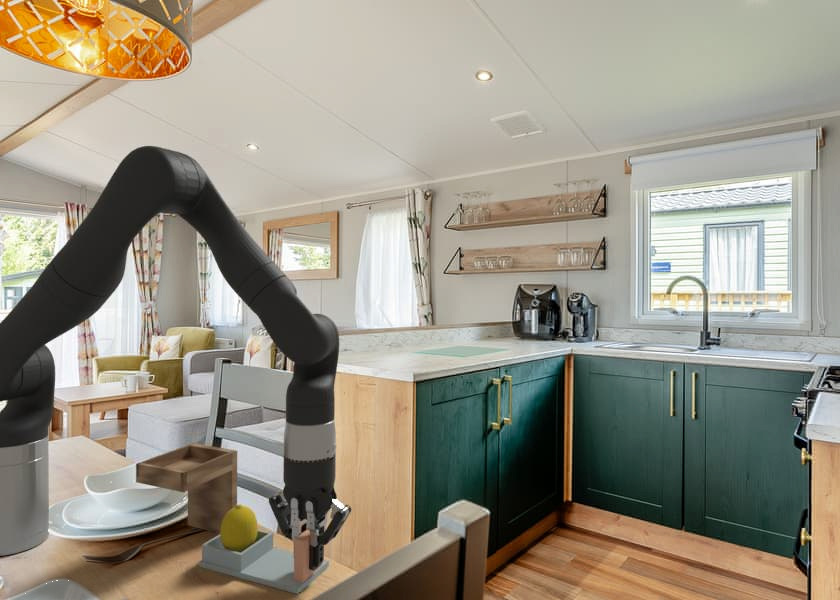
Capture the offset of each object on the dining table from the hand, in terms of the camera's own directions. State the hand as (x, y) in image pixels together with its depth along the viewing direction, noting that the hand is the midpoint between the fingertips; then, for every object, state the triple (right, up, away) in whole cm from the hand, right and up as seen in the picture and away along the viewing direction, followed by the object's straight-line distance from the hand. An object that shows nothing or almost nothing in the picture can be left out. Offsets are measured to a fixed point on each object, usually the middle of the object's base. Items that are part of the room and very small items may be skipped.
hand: (308, 565), depth 77 cm
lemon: (-12, -1, +5) cm, 13 cm away
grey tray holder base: (-8, -2, +3) cm, 8 cm away
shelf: (-23, -1, +9) cm, 24 cm away
